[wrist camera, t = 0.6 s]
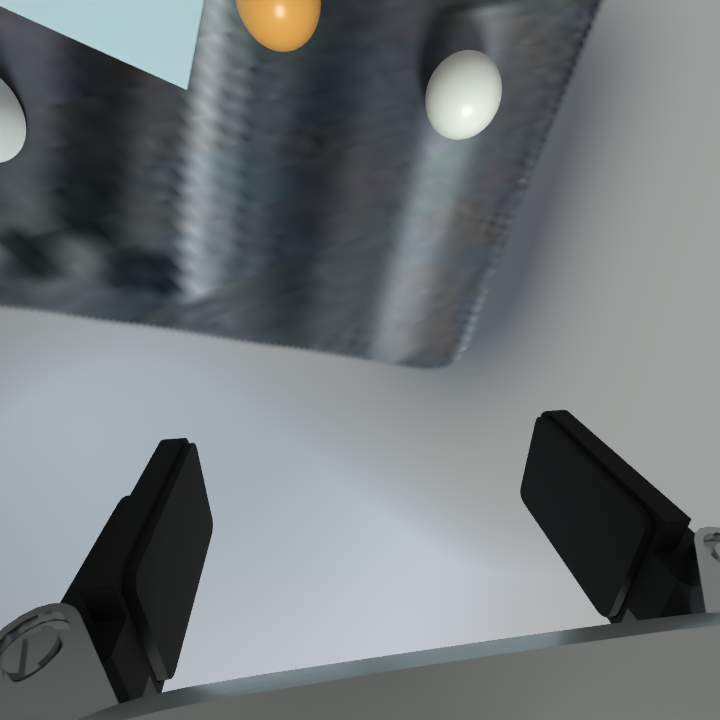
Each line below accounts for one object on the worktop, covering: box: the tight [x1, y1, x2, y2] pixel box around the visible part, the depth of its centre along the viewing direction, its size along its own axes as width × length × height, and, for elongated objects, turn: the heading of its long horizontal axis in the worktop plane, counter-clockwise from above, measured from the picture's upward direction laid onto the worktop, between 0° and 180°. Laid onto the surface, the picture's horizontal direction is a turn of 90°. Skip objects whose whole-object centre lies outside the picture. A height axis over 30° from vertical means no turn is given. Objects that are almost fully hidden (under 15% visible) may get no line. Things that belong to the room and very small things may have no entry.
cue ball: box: [425, 50, 502, 140], centre depth 29 cm, size 6×6×6 cm
